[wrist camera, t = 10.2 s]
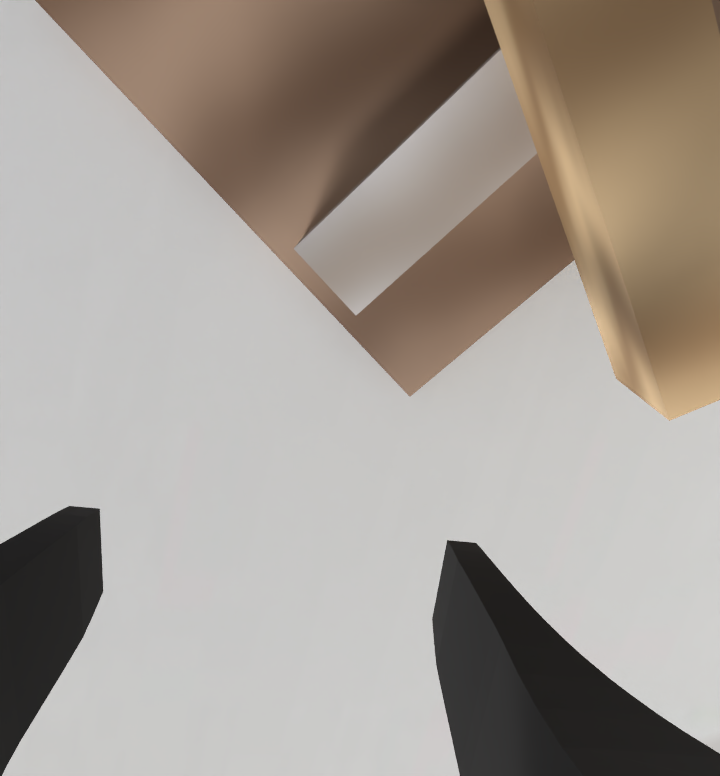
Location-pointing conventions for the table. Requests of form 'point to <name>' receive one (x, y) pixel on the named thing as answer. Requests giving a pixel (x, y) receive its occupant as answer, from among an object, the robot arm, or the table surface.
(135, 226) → the table surface
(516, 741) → the robot arm
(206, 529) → the table surface
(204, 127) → the stand
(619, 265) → the oak bar
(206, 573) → the table surface
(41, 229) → the table surface
